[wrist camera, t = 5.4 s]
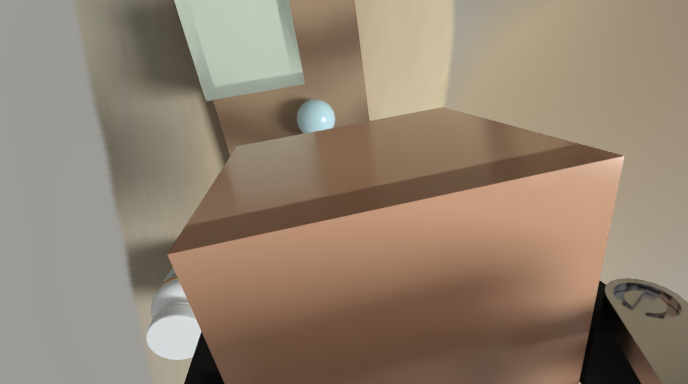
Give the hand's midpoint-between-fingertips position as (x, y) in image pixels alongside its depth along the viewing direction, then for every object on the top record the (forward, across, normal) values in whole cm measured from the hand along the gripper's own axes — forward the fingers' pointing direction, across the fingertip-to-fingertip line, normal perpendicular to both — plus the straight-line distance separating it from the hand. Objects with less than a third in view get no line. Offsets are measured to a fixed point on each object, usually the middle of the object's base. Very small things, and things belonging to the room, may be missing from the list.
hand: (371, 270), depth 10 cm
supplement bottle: (+20, +12, +10) cm, 25 cm away
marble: (+18, 0, -2) cm, 18 cm away
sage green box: (+18, +4, -8) cm, 20 cm away
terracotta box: (+2, 0, 0) cm, 2 cm away
